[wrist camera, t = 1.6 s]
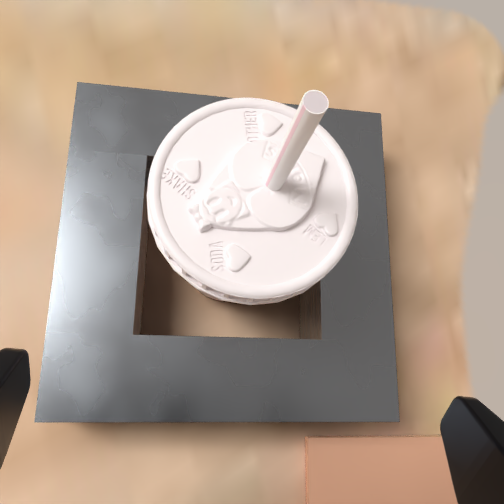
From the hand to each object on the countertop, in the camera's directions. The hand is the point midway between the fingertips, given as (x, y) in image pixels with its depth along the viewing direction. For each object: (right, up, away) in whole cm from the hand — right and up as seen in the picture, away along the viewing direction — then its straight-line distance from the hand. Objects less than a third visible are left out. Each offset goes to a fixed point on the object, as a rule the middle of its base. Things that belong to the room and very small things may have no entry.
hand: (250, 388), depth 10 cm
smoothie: (-1, +2, +13) cm, 13 cm away
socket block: (-1, +2, +13) cm, 13 cm away
